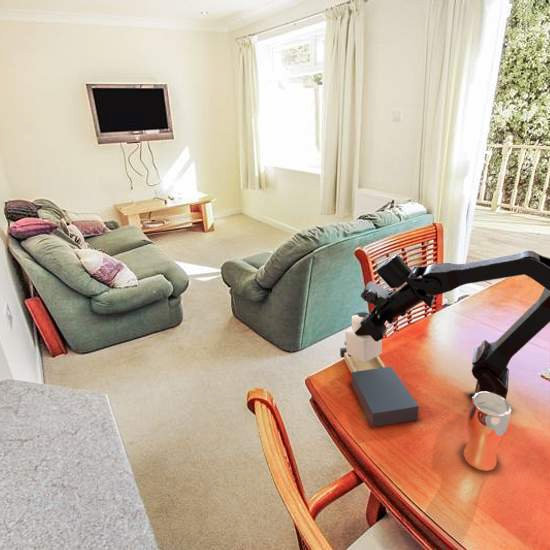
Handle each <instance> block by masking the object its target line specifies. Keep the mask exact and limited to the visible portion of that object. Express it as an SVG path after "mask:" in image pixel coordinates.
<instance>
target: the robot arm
mask: <svg viewBox="0 0 550 550" xmlns="http://www.w3.org/2000/svg"><path fill="white" fill-rule="evenodd" d="M374 271H375V272H376V274H377V275H378V276H379V277H380V278H381V279H382V280H383V281H384V282H385V283H386V285H387V286H388V287H389V288H391V290H390V289H385V288H384V287H382V286H381V285H379V284H378V283H376V282H374V281H372V280H371V281H368V283H367V284H366V285H365V287H364V288H363V290H362V292H361V294H360V298H362V299H363V301H365V302H366V303H368V304H370V305H373V309H372V310H370V312H368V313H369V314H368V315H365V316H364V318H363V320H362V321H361V322H360V323H361V326H360V327H359V329H358V330H357V331H356V332H355V334H356V335H357V336H371V337H372V338H373V339H374V341H377V342H378V341H379V340H381V339H382V340H383V339H384V337H385V335H386V334H387V330H388V328H387V326H386V325H385V324H386V322H387V323H388V324H389V325H392V324H393V323H394V322H395V320H396V319H397V318H399V317H405V316H406V315H407V313H408V311H411V309H414V308H415V307H417V306H418V305H420V304H422V303H423V302H424V303H425V305H426V306H427V307H428V308H432V307H433V304H434V302H435V296H439V295H443V294H445V293H448V292H452V291H453V290H456V289H457V288H459V287H461V286H464V285H469V284H477V283H481V282H487V281H494V280H500V279H507V278H513V277H518V276H526V277H528V278H530V279H532V280H533V281H535V282H536V283H538V284H539V285H540V286H542V287H543V290H542V293H541V295H540V296H539V298H538V299H537V300H536V301H535V302H533V304H532V305H531V306H530V307H529V308H528V309H527V310H526V311H525V312H524V313H523V314H522V315H521V316H520V317H519V318H518V319H517V320H516V321H515V322H514V323H513V324H512V325H511V326H510V327H509V328H508V329H507V330H506V331H505V332H504V333H503V334H502V335H501V336H500V337H499V338H498V339H497V340H496V341H493V342H489V341H487V340H486V339H484V340H483V341H482V342H481V344H480V345H479V346H478V347H476V348H474V351H473V357H472V361H471V362H472V363H471V365H472V367H471V374H472V376H473V377H474V379H475V380H476V384H475V389H474V392H471V393H469V397H470V399H471V401H472V400H473V396H474V395H475V394H476V393H479V392H491V393H495V394H497V395H499V396H501V397H503V398H504V399H506V400H507V396H508V392H509V379H510V378H509V374H510V370H509V368H508V366H509V363H510V361H511V359H512V358H513V357H514V356H515V355H516V354H517V353H518V352H519V351H520V350H522V348H524V346H526V345H527V344H528V343H529V342H530V341H531V340H532V339H534V338H535V337H536V336H537V335H538V334H539V333H540V332H541V331H542V330H543V329H544V328H545V327H546V326H547V325H548V324H550V257H548V256H544V255H542V254H540V253H537V252H536V251H534V250H524V251H521V252H518V253H514V254H508V255H503V256H498V257H493V258H487V259H481V260H477V261H472V262H468V263H451V262H442V263H441V262H440V263H432V264H430V265H428V266H425V265H424V266H423V265H422V266H418V265H417V266H415V265H414V266H412V268H411V267H410V266H409V265H408V264H407V263H406V262H405V261H404V260H403V258H402V257H401V255H400V254H399V253H396V254H395V255H393V256H391V257H390V258H387V259H386V260H385V261H383V262H382V263H381V264H380V265H379V266H378V267H376V269H374Z"/></svg>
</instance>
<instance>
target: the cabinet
mask: <svg viewBox="0 0 550 550" xmlns="http://www.w3.org/2000/svg"><path fill="white" fill-rule="evenodd" d="M350 376H351V380H350V381H351V383H350V385H351V387H352V389H353V391H354V393H355V395H356V397H357V399H358V401H359V404H360V406H361V407H362V409H363V411H364V413H365V415H366V417H367V420H368V421H369V424H370V426H371V427H372V428H374V427H381V426H382V427H383V426H387V425H393V424H400V423H406V422H411V421H417V420H418V417H419V408H420V406H419V404H418V403H417V401H416V400H415V398H414V397H413V395H412V394H411V393H410V391H409V389H408V388H407V387H406V385H405V383H403V380H401V378H400V376H399V375H398V373H397V372H396V371H395V370H394V368H393V366H385V367H383V368H377V369H370V370H363V371H356V372H352V374H351V375H350Z"/></svg>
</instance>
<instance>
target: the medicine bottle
mask: <svg viewBox="0 0 550 550" xmlns="http://www.w3.org/2000/svg"><path fill="white" fill-rule="evenodd" d="M369 313H370V312H365V311H361V312H356V313H354V314H353V315H351V328H350V329H348V330H346V331H345V341H346V345H345V348H346V350H347V354H349V355H351V356H353V357H355V358H357V359H358V360H360V361H362V362H364V363H366V362H368V361H369V360H371V359H373V358H375V357H376V356H380V355H382V354H383V339H381V340H379V341H378V342H377V341H374V339H373V338H372V337H371V336H357V335H356V334H355V332H356V331H357V330H358V329H359V327H360V326H361V323H360V322H361V321H362V320H363V318H364V316H365V315H368V314H369Z"/></svg>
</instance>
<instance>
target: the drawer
mask: <svg viewBox="0 0 550 550" xmlns="http://www.w3.org/2000/svg"><path fill="white" fill-rule="evenodd" d="M343 344H344V346H346V340H344V342H343ZM339 357H340V358H343V360H344V362H345V364H346V366H347V368H348V370H349V372H350V373H351V375H352V372H356V371H363V370H370V369H377V368H383V367H386V365H385V364H384V362H383V361H382V359H381V358H380V355H378V356H376V357H375V358H373V359H371V360H369V361H368V362H366V363H364V362H362V361H360V360H358V359H357V358H355V357H353V356H351V355H349V354H347V350H346V347H340V348H339Z"/></svg>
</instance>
